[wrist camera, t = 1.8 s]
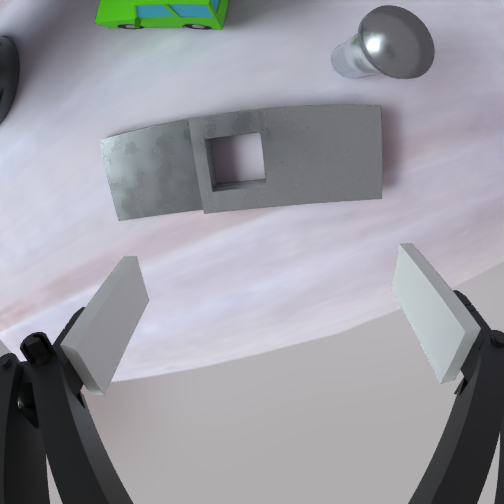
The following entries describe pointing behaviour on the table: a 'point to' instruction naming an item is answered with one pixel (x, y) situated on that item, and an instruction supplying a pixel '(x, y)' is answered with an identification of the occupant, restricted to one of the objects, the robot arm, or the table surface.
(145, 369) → the table surface
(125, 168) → the plate with square hole
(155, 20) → the toy car
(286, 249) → the table surface
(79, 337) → the robot arm
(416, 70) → the pin
